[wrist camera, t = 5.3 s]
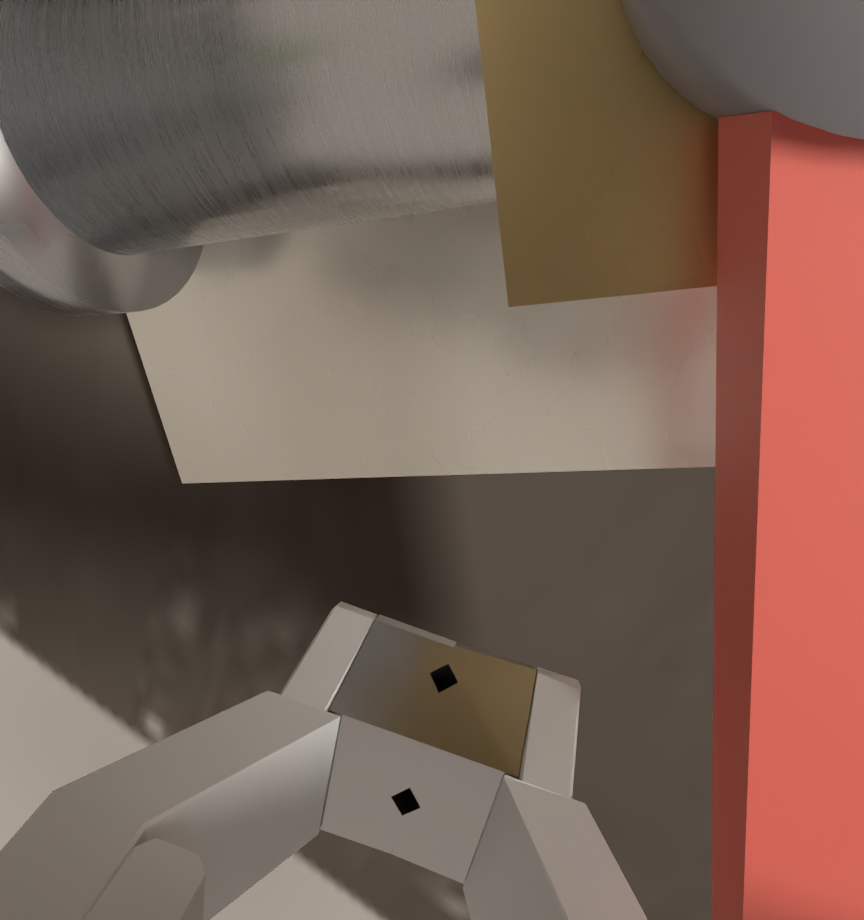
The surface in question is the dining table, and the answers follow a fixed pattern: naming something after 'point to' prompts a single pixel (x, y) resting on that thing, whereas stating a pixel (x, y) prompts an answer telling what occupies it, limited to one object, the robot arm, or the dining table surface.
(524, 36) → the valve
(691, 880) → the dining table surface
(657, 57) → the lever
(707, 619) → the dining table surface
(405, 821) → the robot arm
